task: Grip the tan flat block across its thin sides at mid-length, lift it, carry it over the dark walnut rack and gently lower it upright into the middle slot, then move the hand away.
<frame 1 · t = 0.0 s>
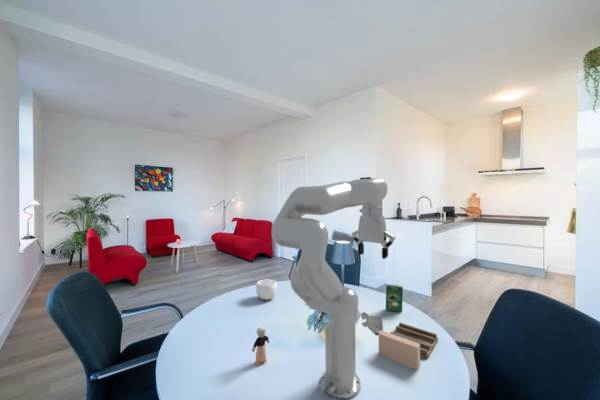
hand: (372, 256, 99), 37 cm above the table, tool pointing down, fingers open, 9 cm apart
grandmother figurine: (261, 361, 94), on the table
tan flat block: (398, 359, 94), on the table
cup: (266, 298, 150), on the table
rack: (411, 341, 105), on the table
coffee box: (394, 310, 133), on the table
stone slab: (371, 325, 120), on the table
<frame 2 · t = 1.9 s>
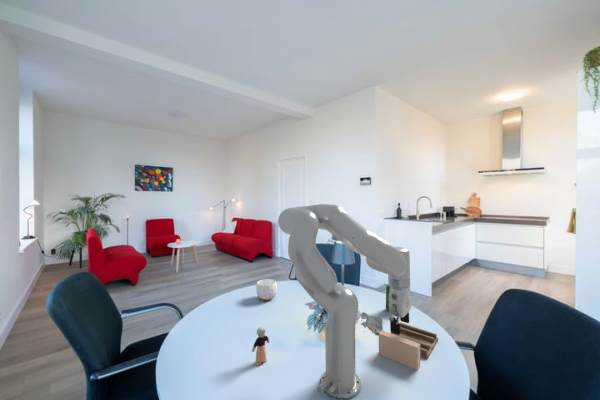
hand: (400, 327, 94), 12 cm above the table, tool pointing down, fingers open, 9 cm apart
nothing on the table moved.
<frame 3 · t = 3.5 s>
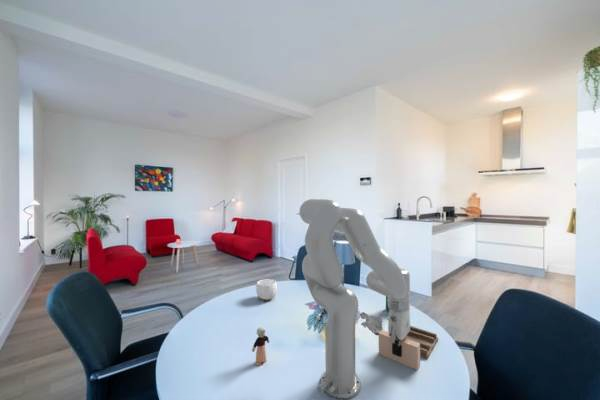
hand: (398, 352, 94), 3 cm above the table, tool pointing down, fingers closed on tan flat block, 3 cm apart
tan flat block: (398, 359, 94), on the table, touching gripper
everything else where it was.
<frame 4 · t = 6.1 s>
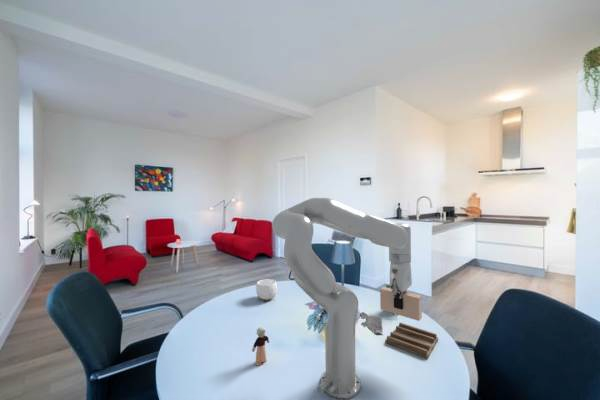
hand: (400, 306, 94), 19 cm above the table, tool pointing down, fingers closed on tan flat block, 3 cm apart
tan flat block: (400, 313, 94), point 17 cm above the table, touching gripper
everything else where it was.
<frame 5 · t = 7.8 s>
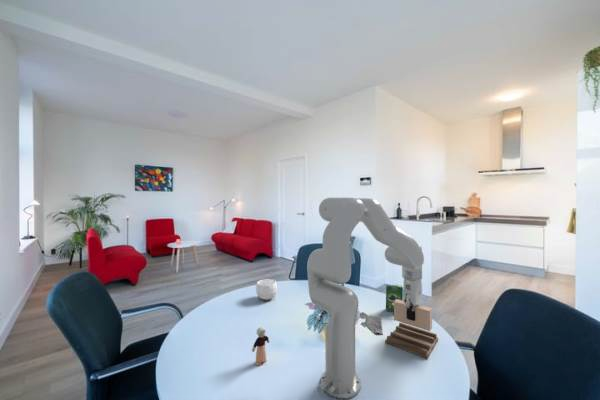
hand: (412, 317, 105), 10 cm above the table, tool pointing down, fingers closed on tan flat block, 3 cm apart
tan flat block: (412, 323, 105), point 7 cm above the table, touching gripper
everything else where it was.
when the fingers open (4 cm above the table, at t = 9.1 s): tan flat block stays where it is, resting on rack.
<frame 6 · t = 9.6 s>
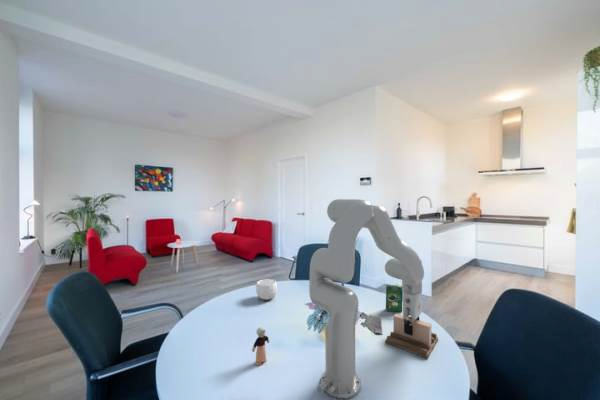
hand: (411, 329, 105), 5 cm above the table, tool pointing down, fingers open, 8 cm apart
tan flat block: (411, 339, 105), point 1 cm above the table, touching rack
everything else where it was.
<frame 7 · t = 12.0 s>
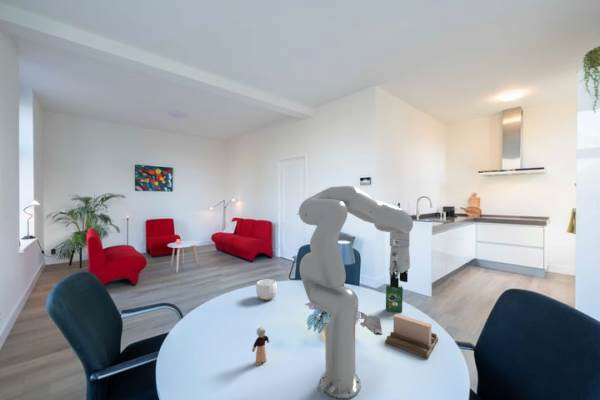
hand: (399, 284, 105), 24 cm above the table, tool pointing down, fingers open, 9 cm apart
nothing on the table moved.
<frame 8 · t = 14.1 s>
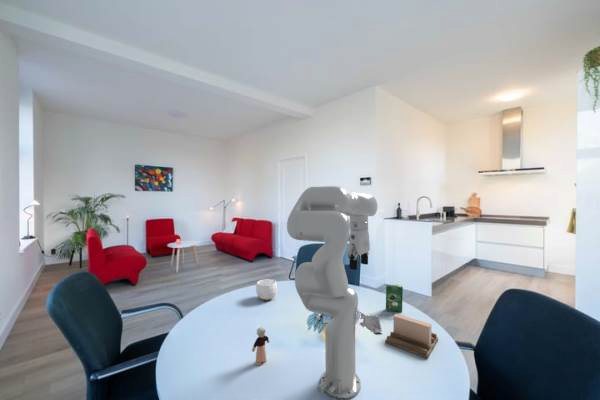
hand: (359, 266, 108), 30 cm above the table, tool pointing down, fingers open, 9 cm apart
at the end: tan flat block 0.1 cm off-centre on the rack, point 1.0 cm above the rack's base; tan flat block tilted 0°; the gripper is holding nothing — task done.
